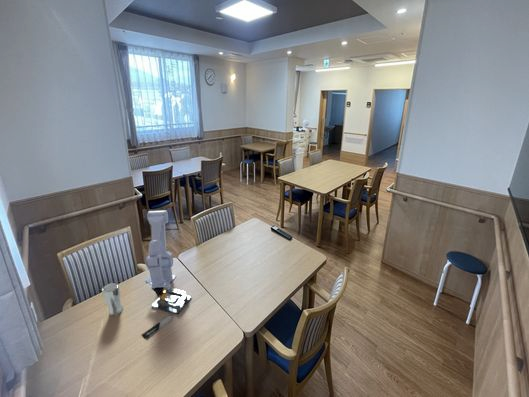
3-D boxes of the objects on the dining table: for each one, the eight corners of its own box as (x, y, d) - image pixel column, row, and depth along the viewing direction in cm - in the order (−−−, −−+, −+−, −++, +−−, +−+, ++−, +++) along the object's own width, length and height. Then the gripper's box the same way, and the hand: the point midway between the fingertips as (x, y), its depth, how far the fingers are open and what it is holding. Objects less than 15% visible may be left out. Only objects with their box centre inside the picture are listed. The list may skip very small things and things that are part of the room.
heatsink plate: (151, 307, 130) (150, 301, 129) (166, 291, 141) (165, 285, 139) (178, 314, 126) (177, 308, 124) (191, 298, 137) (190, 292, 135)
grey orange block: (160, 300, 133) (159, 295, 131) (165, 295, 136) (164, 290, 135) (173, 304, 130) (172, 299, 129) (177, 298, 134) (176, 293, 133)
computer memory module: (169, 314, 126) (174, 318, 123) (170, 315, 126) (174, 319, 124) (141, 334, 115) (145, 338, 113) (141, 335, 115) (146, 340, 113)
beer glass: (108, 318, 123) (101, 294, 118) (108, 308, 129) (102, 285, 123) (124, 313, 126) (118, 289, 121) (124, 303, 132) (118, 281, 126)
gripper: (139, 277, 128) (143, 297, 133) (163, 283, 124) (166, 304, 129) (149, 268, 134) (153, 288, 139) (172, 274, 130) (175, 294, 135)
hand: (160, 295), depth 134 cm, fingers closed
